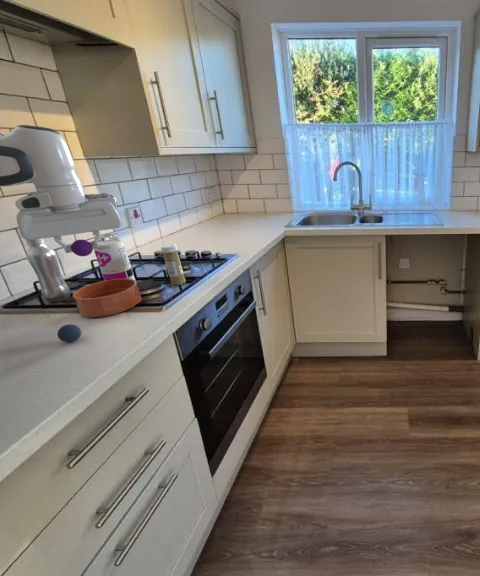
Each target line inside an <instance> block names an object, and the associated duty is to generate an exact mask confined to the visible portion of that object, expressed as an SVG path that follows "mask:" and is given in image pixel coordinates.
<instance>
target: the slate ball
mask: <svg viewBox="0 0 480 576" xmlns="http://www.w3.org/2000/svg"><path fill="white" fill-rule="evenodd" d="M81 336H82V330H81V328H80V327H79V326H77V325H75V324H72V323H71V324H70V323H69V324H65V325H62V326H61V327H60V328H59V329H58V330H57V338H58V339H59V340H60V341H61V342H64V343H73V342H75V341H77V340H79V338H80V337H81Z"/></svg>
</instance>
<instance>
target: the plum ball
mask: <svg viewBox="0 0 480 576" xmlns="http://www.w3.org/2000/svg"><path fill="white" fill-rule="evenodd" d="M71 249H72V251H73V252H72V253H73V254H74V255H76V256H78V257H87V256H89V255H91V254H92V252H94V249H92V245H91V243H90V241H88V240H86V239H77V240H74V241H73V242H72V243H71Z"/></svg>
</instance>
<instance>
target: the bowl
mask: <svg viewBox="0 0 480 576" xmlns="http://www.w3.org/2000/svg"><path fill="white" fill-rule="evenodd" d="M72 298H73V300H74V303H75V306H76V308H77V311H78V313H79V314H80V315H81V317H86V318H99V317H107V316H111V315H116V314H119V313H122V312H125V311H128V310H130V309H132V308H135V307H136V306H137V305H139V304H140V303H141V302H142V300H143V298H142V294H141V290H140V288H139V284H138V281H137V280H136V279H135V280H134V279H128V278H124V279H112V280H106V281H105V280H102V281H97V282H94V283H91V284H88V285H85V286H83V287H81V288H79V289H77V290H76V291H74V292H73V293H72ZM138 303H139V304H138ZM136 304H137V305H136ZM135 305H136V306H135Z"/></svg>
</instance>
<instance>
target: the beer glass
mask: <svg viewBox="0 0 480 576" xmlns="http://www.w3.org/2000/svg"><path fill="white" fill-rule="evenodd" d="M95 236H96V235H95ZM95 236H94V235H93V240H94V239H95ZM106 240H120V239H119V237H118V234H117V233H115V232H109V233H108V232H107V233H101V234H100V236H99V239H98V242H101V241H106Z"/></svg>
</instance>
